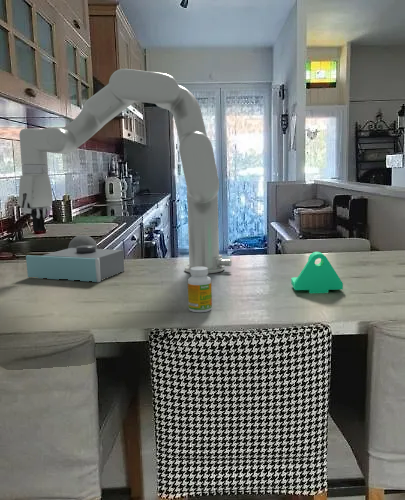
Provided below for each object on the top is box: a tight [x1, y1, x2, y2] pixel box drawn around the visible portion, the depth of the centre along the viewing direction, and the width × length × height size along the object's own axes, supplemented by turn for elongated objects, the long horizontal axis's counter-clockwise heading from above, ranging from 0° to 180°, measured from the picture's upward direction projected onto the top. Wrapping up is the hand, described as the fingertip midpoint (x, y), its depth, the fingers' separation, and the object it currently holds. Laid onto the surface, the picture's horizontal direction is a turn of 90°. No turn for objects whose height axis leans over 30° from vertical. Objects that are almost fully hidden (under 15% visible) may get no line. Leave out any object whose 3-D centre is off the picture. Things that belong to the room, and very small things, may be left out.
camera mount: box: [290, 251, 344, 294], centre depth 124 cm, size 12×8×10 cm, turn 87°
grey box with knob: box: [42, 245, 125, 281], centre depth 150 cm, size 20×14×9 cm
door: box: [25, 254, 102, 283], centre depth 143 cm, size 26×1×7 cm, turn 70°
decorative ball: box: [67, 234, 98, 249], centre depth 169 cm, size 10×10×10 cm
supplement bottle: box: [187, 267, 213, 313], centre depth 109 cm, size 5×5×10 cm
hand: (39, 230), depth 149 cm, fingers closed
